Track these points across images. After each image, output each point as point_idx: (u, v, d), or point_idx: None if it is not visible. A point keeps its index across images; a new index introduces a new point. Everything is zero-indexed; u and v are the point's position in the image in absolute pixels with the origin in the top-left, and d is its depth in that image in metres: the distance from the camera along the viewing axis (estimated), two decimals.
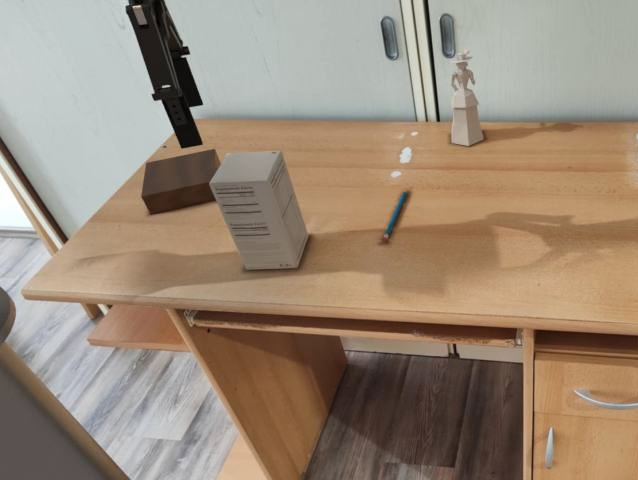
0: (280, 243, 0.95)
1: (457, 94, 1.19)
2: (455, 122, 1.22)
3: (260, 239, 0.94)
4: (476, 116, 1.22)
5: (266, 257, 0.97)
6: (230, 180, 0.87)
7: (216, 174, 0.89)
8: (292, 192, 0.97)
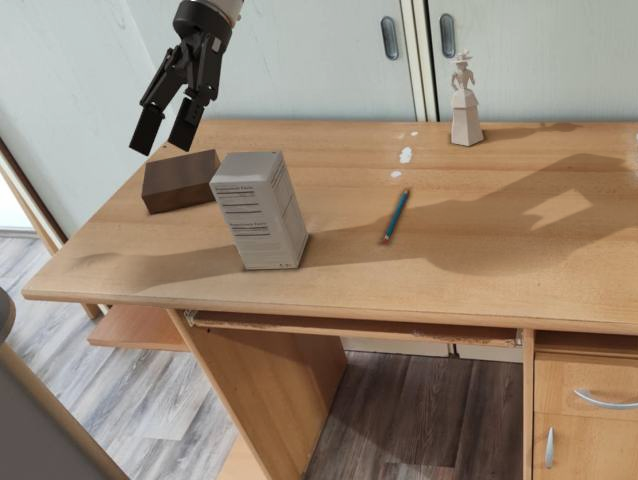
0: (280, 243, 0.95)
1: (457, 94, 1.19)
2: (455, 122, 1.22)
3: (260, 239, 0.94)
4: (476, 116, 1.22)
5: (266, 257, 0.97)
6: (230, 180, 0.87)
7: (216, 174, 0.89)
8: (292, 192, 0.97)
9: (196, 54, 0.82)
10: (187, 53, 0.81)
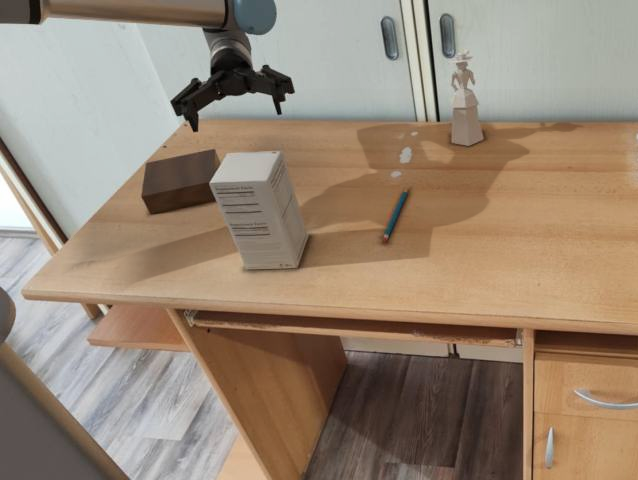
0: (280, 243, 0.95)
1: (457, 94, 1.19)
2: (455, 122, 1.22)
3: (260, 239, 0.94)
4: (476, 116, 1.22)
5: (266, 257, 0.97)
6: (230, 180, 0.87)
7: (216, 174, 0.89)
8: (292, 192, 0.97)
9: None
10: (246, 71, 1.03)
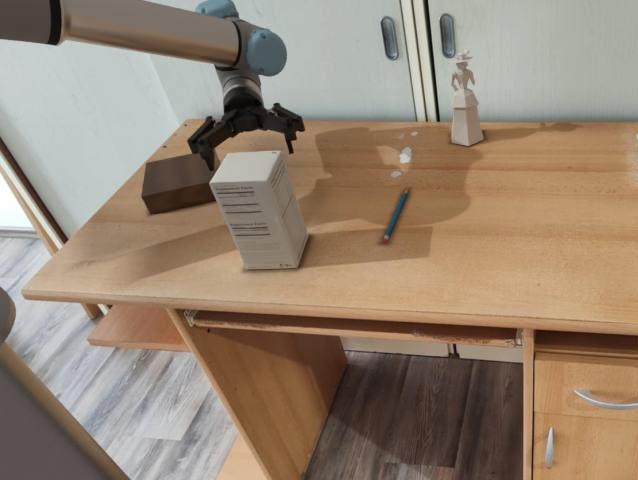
0: (280, 243, 0.95)
1: (457, 94, 1.19)
2: (455, 122, 1.22)
3: (260, 239, 0.94)
4: (476, 116, 1.22)
5: (266, 257, 0.97)
6: (230, 180, 0.87)
7: (216, 174, 0.89)
8: (292, 192, 0.97)
9: None
10: (258, 109, 1.07)
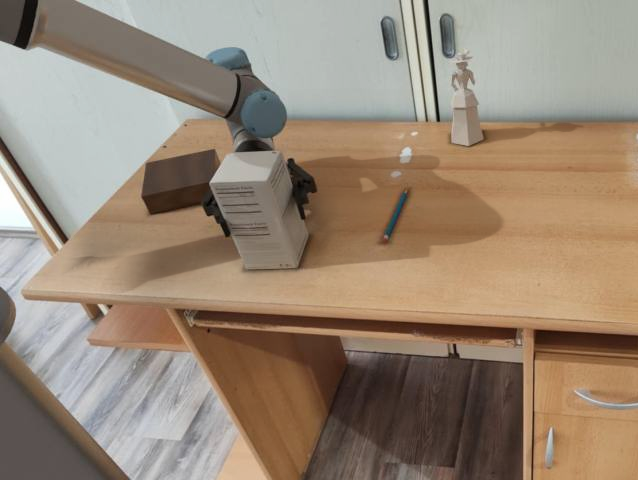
0: (280, 243, 0.95)
1: (457, 94, 1.19)
2: (455, 122, 1.22)
3: (260, 239, 0.94)
4: (476, 116, 1.22)
5: (266, 257, 0.97)
6: (230, 180, 0.87)
7: (216, 174, 0.89)
8: (292, 192, 0.97)
9: None
10: None
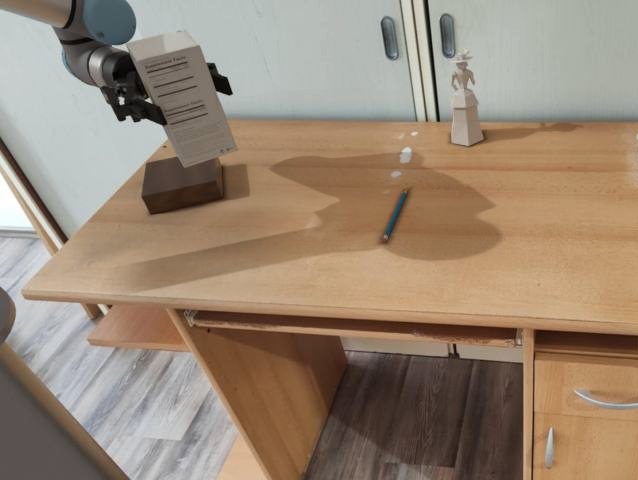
0: (219, 122, 0.93)
1: (457, 94, 1.19)
2: (455, 122, 1.22)
3: (198, 122, 0.91)
4: (476, 116, 1.22)
5: (206, 145, 0.94)
6: (159, 54, 0.84)
7: (136, 55, 0.84)
8: None
9: None
10: None
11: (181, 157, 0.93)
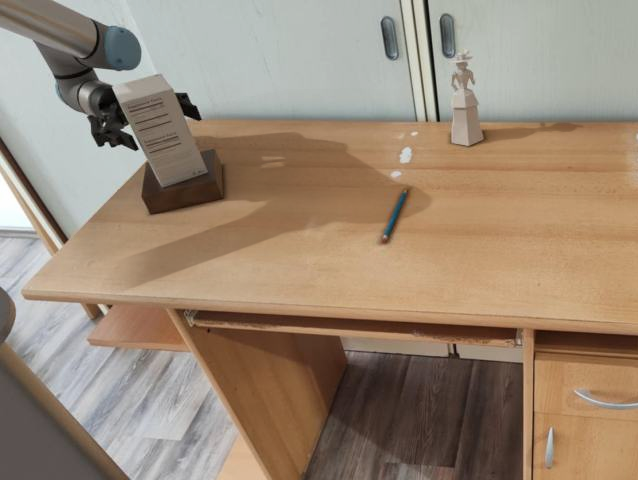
0: (190, 150, 1.11)
1: (457, 94, 1.19)
2: (455, 122, 1.22)
3: (173, 150, 1.09)
4: (476, 116, 1.22)
5: (180, 169, 1.12)
6: (139, 96, 1.02)
7: (120, 97, 1.02)
8: None
9: None
10: None
11: (159, 179, 1.11)
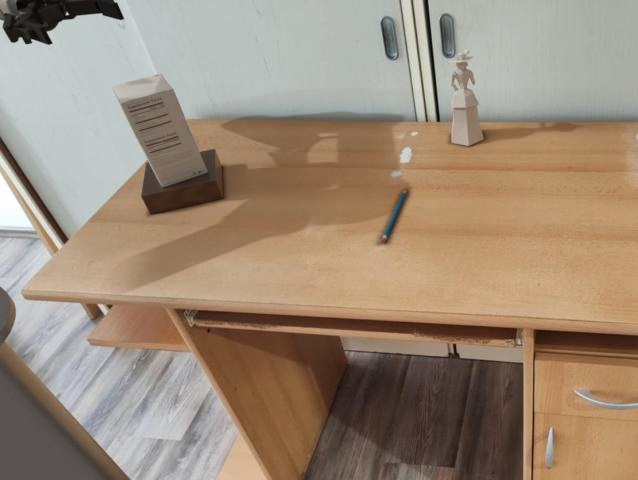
0: (191, 150, 1.11)
1: (457, 94, 1.19)
2: (455, 122, 1.22)
3: (173, 150, 1.09)
4: (476, 116, 1.22)
5: (180, 169, 1.12)
6: (139, 96, 1.02)
7: (121, 97, 1.02)
8: None
9: (62, 3, 1.11)
10: None
11: (159, 179, 1.11)
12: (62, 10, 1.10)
